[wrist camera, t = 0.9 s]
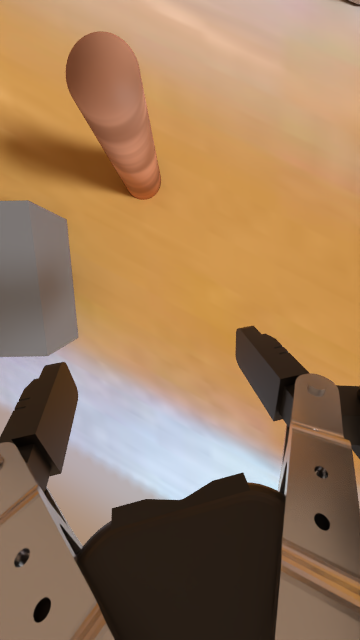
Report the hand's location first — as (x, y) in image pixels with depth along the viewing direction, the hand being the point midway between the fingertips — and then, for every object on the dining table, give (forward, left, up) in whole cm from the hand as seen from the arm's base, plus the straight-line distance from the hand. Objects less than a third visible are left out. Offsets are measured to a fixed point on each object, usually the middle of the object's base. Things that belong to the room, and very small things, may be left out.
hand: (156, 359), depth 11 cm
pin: (-14, -3, -18) cm, 23 cm away
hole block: (-3, -19, -18) cm, 26 cm away
